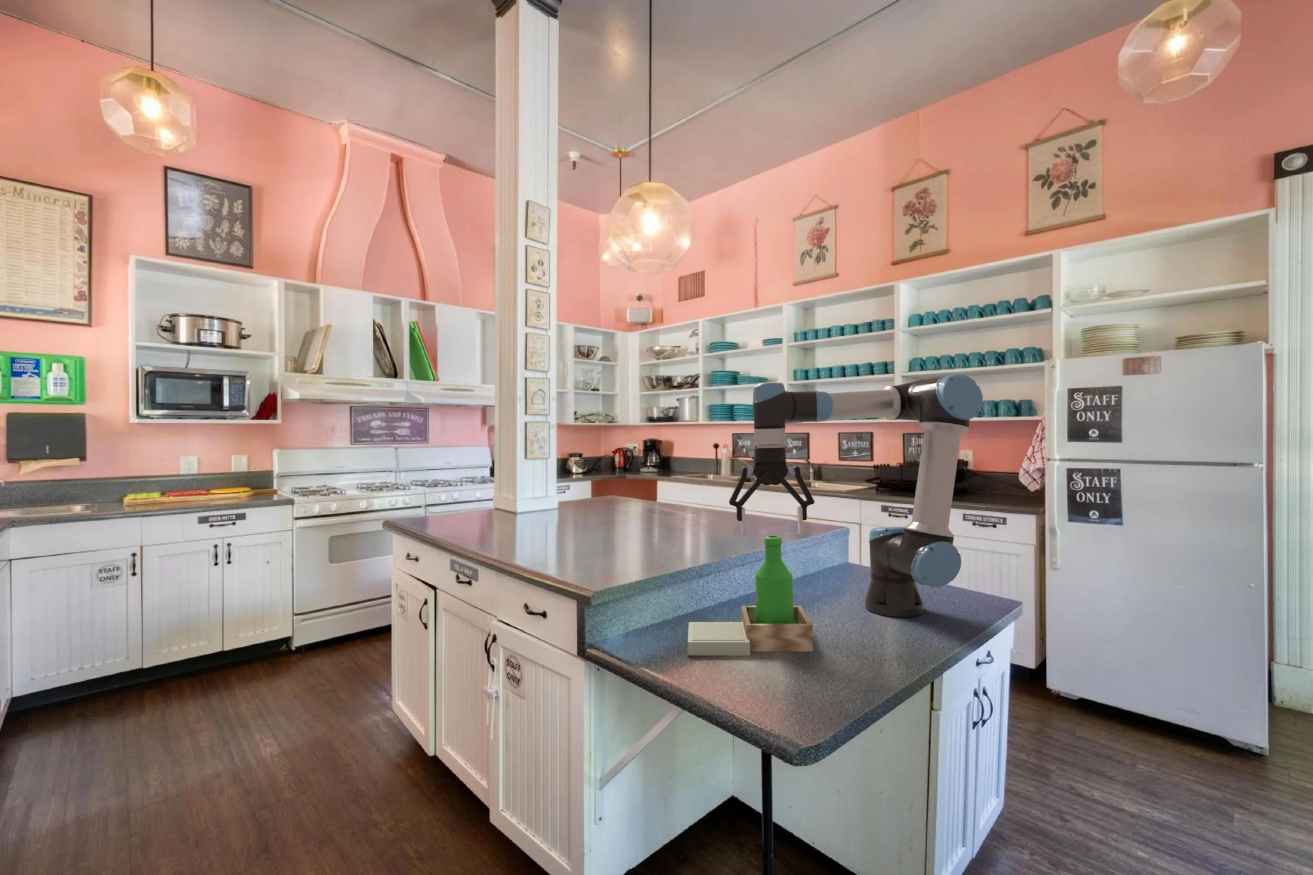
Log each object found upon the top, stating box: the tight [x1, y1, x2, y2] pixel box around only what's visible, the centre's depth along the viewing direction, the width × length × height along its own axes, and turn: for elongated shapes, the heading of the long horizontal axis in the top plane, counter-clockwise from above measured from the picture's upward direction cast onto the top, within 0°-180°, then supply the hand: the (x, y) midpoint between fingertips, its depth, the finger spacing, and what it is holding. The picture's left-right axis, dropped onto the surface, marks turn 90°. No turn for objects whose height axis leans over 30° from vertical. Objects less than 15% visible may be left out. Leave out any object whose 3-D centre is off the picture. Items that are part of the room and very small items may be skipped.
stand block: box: [687, 621, 751, 657], centre depth 133 cm, size 14×14×3 cm
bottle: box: [754, 535, 794, 624], centre depth 135 cm, size 9×9×25 cm
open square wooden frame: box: [740, 605, 814, 652], centre depth 135 cm, size 15×15×6 cm
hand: (771, 534), depth 136 cm, fingers open, 13 cm apart
